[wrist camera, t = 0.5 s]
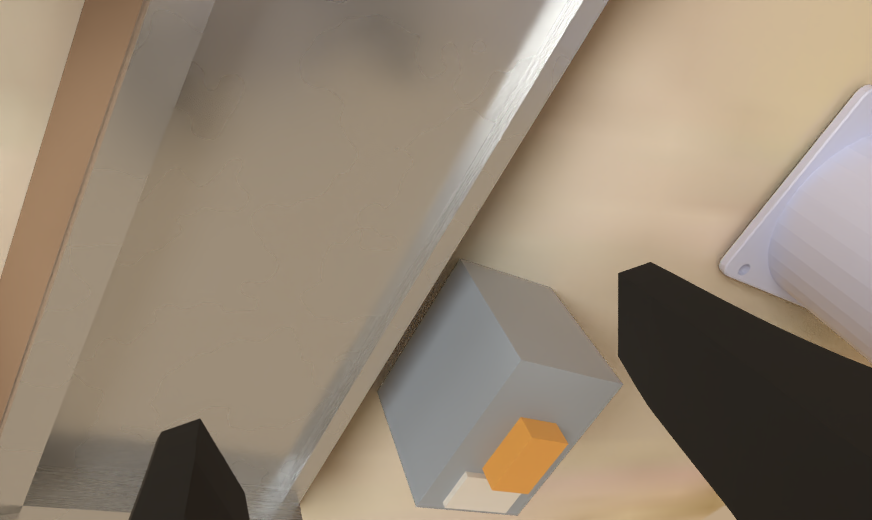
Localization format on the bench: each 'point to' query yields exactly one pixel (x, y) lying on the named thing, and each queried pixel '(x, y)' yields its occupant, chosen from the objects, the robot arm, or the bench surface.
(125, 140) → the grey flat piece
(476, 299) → the block
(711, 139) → the bench surface
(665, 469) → the bench surface
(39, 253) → the board
